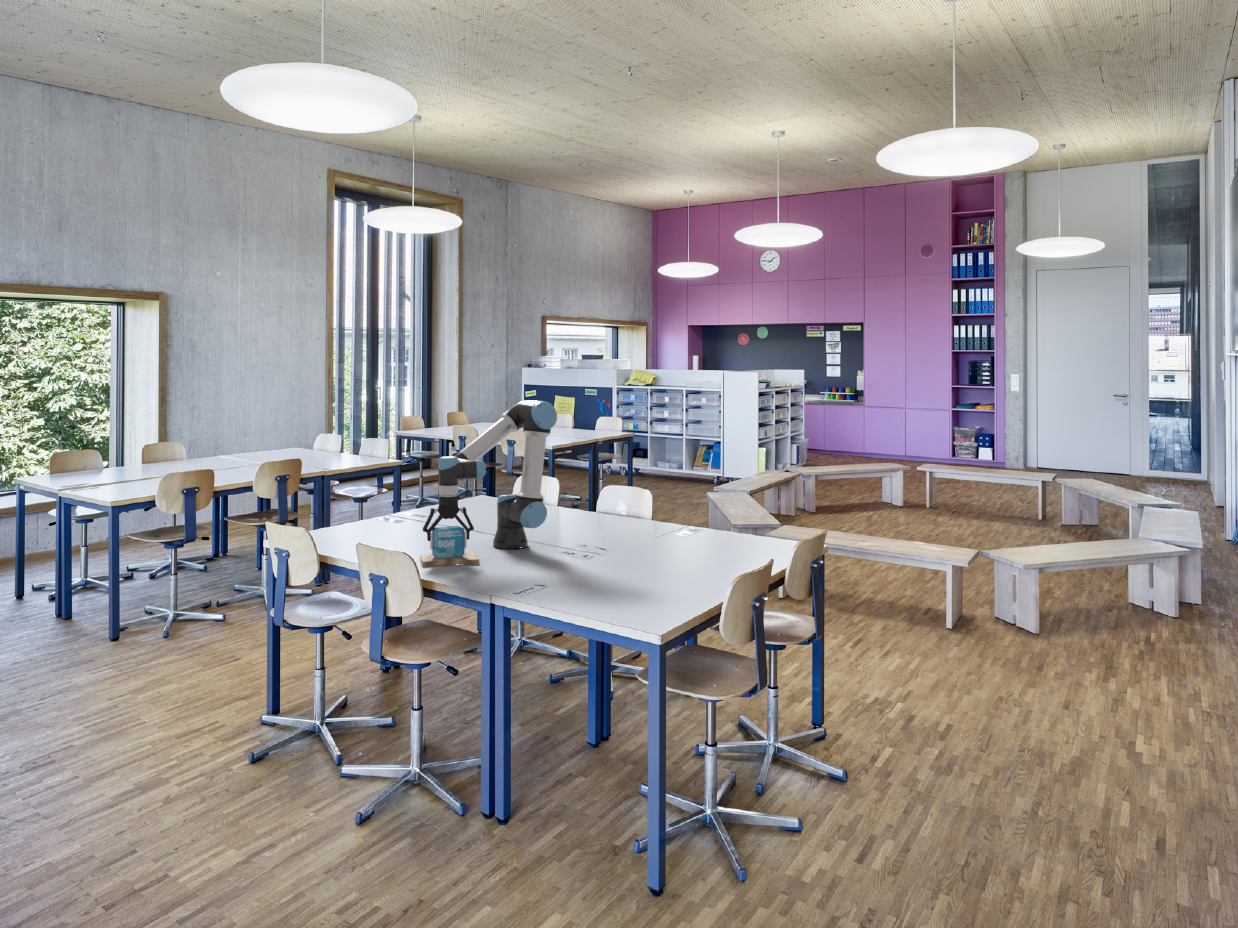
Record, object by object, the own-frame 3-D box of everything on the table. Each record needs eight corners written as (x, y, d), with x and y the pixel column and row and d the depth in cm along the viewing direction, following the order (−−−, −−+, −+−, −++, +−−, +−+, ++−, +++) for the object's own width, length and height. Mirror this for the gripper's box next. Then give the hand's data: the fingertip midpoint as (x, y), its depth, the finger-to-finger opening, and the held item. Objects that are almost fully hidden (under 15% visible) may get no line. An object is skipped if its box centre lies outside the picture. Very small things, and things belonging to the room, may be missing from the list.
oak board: (475, 557, 343) (475, 552, 342) (479, 564, 330) (479, 559, 330) (420, 559, 336) (420, 554, 336) (422, 566, 324) (422, 561, 324)
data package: (436, 559, 328) (436, 529, 327) (432, 557, 332) (432, 527, 330) (464, 556, 334) (464, 527, 333) (460, 554, 338) (460, 525, 337)
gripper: (478, 493, 337) (478, 545, 340) (415, 494, 330) (416, 547, 333) (480, 496, 330) (480, 548, 333) (416, 497, 323) (417, 551, 325)
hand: (448, 548), depth 333 cm, fingers closed on data package, 13 cm apart
